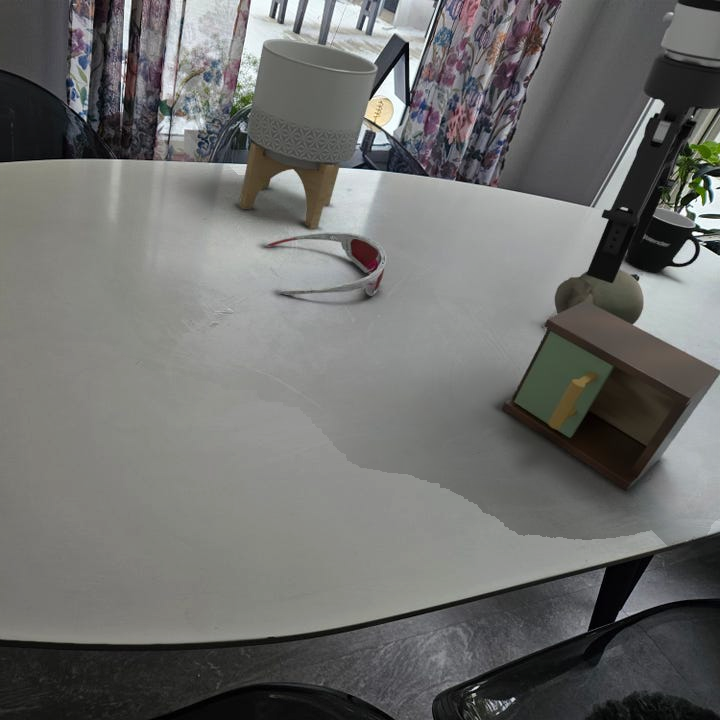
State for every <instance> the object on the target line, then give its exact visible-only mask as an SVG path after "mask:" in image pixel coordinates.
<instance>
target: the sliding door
mask: <svg viewBox="0 0 720 720" xmlns="http://www.w3.org/2000/svg"><path fill="white" fill-rule="evenodd" d="M614 367H615V366H614V365H612V364H610V363H608V362H607V361H605V360H603V359H601V358H599V357H598V356H596V355H594V354H592V353H591V352H589V351H587V350H585V349H583V348H582V347H580V346H578V345H576V344H575V343H573V342H571V341H569V340H567V339H566V338H564V337H562V336H560V335H559V334H557V333H555V332H553V331H550V333H549V335H548V337H547V339H546V341H545V343H544V345H543V347H542V349H541V351H540V353H539V355H538V356H537V358H536V360H535V362H534V364H533V366H532V368H531V370H530V372H529V374H528V376H527V378H526V380H525V382H524V384H523V385H522V387H521V389H520V391H519V393H518V395H517V397H516V399H515V401H514V402H515V403H516V404H518V405H519V406H521V407H522V408H524V409H526V410H527V411H529V412H530V413H532V414H533V415H535V416H536V417H538V418H539V419H541V420H543V421H544V422H546V423H547V424H549V426H550V427H552V428H553V429H556V430H558V431H560V432H561V433H563V434H564V435H566V436H567V437H569V438H571V437H572V436H573V435H574V433H575V432H576V430H577V428H578V427H579V425H580V423H581V422H582V420H583V418H584V417H585V415H586V413H587V412H588V410H589V408H590V407H591V405H592V403H593V402H594V400H595V398H596V397H597V395H598V393H599V392H600V390H601V388H602V387H603V385H604V383H605V382H606V380H607V378H608V377H609V375H610V373H611V372H612V370H613V368H614Z"/></svg>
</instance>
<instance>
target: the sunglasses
mask: <svg viewBox="0 0 720 720" xmlns="http://www.w3.org/2000/svg"><path fill="white" fill-rule="evenodd" d="M299 240H300V241H303V240H311V241H312V240H314V241H315V240H317V241H320V240H321V241H330V242H337V243H340V245H341V246H342V247H341V248H342V250H343V251H344V252H345V254H346V256H347V257H348V258H349V260H351V261H352V262H353V263H354V264H355V265H356V266H357V267H359V269H360V270H362V271H363V273H365V274H367V273H368V274H369V273H370V274H369V275H367V276H366V277H362V278H360V279H358V280H355V281H352V282H347V283H346V282H345V283H342V284H338V285H332V286H325V287H318V288H306V289H303V288H302V289H282V290H280V293H281V294H282V295H285V296H295V295H296V296H297V295H309V294H327V293H329V294H330V293H331V294H332V293H345V292H346V293H347V292H353V291H358V290H363V289H365V293H366V295H368V296H370V297H372V296H374V295H375V294H376V293H377V291H378V288H379V286H380V283H381V281H382V279H383V276H384V271H385V266H386V265H387V254H386V251H385V249H384V248H383V247H382V245H380V244H379V242H377V241H375V240H373V239H372V238H369V237H367V236H364V235H361V234H357V233H352V232H339V231H335V232H333V231H330V232H327V231H326V232H316V233H308V234H301V235H293V236H287V237H283V238H282V237H281V238H279V239H276V240H273V241H269V242H267V243H265V244H264V246H265V247H267V248H272V247H275V246H277V245H280V244H284V243H287V242H292V241H299Z"/></svg>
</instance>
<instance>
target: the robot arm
mask: <svg viewBox="0 0 720 720" xmlns="http://www.w3.org/2000/svg"><path fill="white" fill-rule="evenodd" d="M662 21H663V23H664V24H666V25H667V24H668V25H669V27H668V28H667V29H666V30H665V32H664V36H663V38H662V40H661V43H660V46H661V48H662V49H663V50H665V51H664V52H661V53H658V55H656V56H654V58H653V61H652V64H651V67H650V69H649V72H648V74H647V77H646V80H645V82H644V85H643V87H642V88H643V89H642V90H643V92H644V94H645V95H646V96H647V97H649V98H651V99H653V100H659V101H660V102H662V103H663V106H662V107H661V110H660V112H655V113H654V115H653V116H651V117H649V119H648V121H647V123H646V125H645V128H644V133H643V137H642V139H641V141H640V143H639V145H638V147H637V149H636V153H635V156H634V159H633V161H632V162H631V165H630V167H629V169H628V172H627V174H626V176H625V178H624V181H623V182H622V184H621V187H620V189H619V191H618V193H617V194H616V197H615V200H613V201H614V202H613V204H612V205H611V208H610V209H603V211H602V214H601V218H602V219H606V220H607V222H606V225H605V227H604V229H603V232H602V234H601V237H600V239H599V242H598V244H597V247H596V249H595V251H594V254H593V257H592V259H591V262H590V264H589V266H588V269H587V270H586V272H587V274H586V275H588V276H591V277H594V278H597V279H600V280H603V281H606V282H609V283H613V282H614V280H615V278H616V275H617V273H618V271H619V270H620V268H621V266H622V264H623V261H624V259H625V257H626V256H627V251H628V248H629V245H630V243H631V241H632V242H635V243H638V244H640V243H641V242H642V240H643V238H644V235H645V233H646V231H647V228H648V226H649V224H650V222H651V219H652V217H653V215H654V213H655V210H656V208H657V207H658V206H659V203H660V201H661V199H662V197H663V195H664V192H665V189H667V190H672V189H673V187H674V186H675V183H676V181H677V180H676V179H672V178H671V177H673V175H674V173H675V168H676V165H677V163H678V160H679V158H680V155H681V154H682V153H683V151H684V149H685V147H686V146H687V144H688V142H689V141H688V140H689V139H690V138H691V136H692V135H693V133H694V131H695V129H696V126H697V123H698V121H696V120H695V117H696V115H697V113H698V111H699V110H717V109H720V0H677V3H676V5H675V7H674V12H671V11H670V12H666V14H665V15H664V16H663V18H662ZM626 209H627V210H626Z"/></svg>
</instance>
